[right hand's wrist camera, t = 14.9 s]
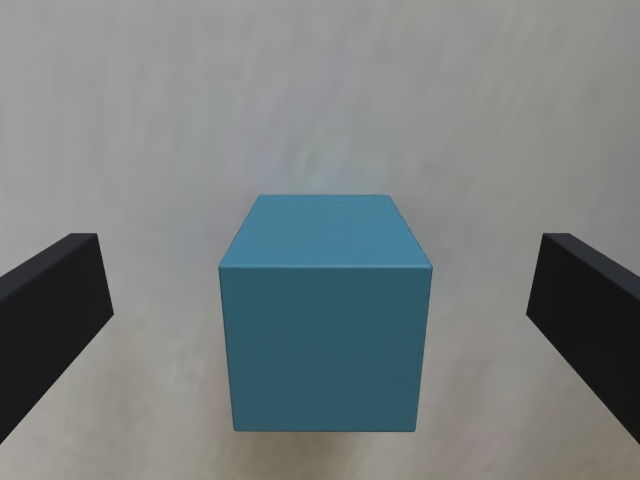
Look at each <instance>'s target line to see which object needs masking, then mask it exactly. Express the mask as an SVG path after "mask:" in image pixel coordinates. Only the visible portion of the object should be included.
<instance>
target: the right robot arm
mask: <svg viewBox="0 0 640 480" xmlns="http://www.w3.org/2000/svg"><path fill="white" fill-rule="evenodd" d="M113 315H114V312H113V307H112V303H111V298H110V293H109V289H108V284H107V279H106V274H105V270H104V265H103V260H102V255H101V251H100V246H99V241H98V236H97V233H71V234H69V235H67V236H66V237H64V238H63V239H61V240H59V241H58V242H56V243H55V244H53V245H51V246H50V247H48V248H46V249H45V250H43V251H42V252H40V253H38V254H37V255H35V256H34V257H32V258H30V259H29V260H27V261H26V262H24V263H22V264H21V265H19V266H18V267H16V268H14V269H13V270H11V271H10V272H8V273H6V274H5V275H3V276H1V277H0V444H1V443H2V442H3V441H4V440H5V439H6V438H7V436H8V435H9V434H10V433H11V432H12V431H13V430H14V428H15V427H16V426H17V425H18V424H19V423H20V421H21V420H22V419H23V418H24V417H25V416H26V415H27V413H28V412H29V411H30V410H31V409H32V408H33V407H34V405H35V404H36V403H37V402H38V401H39V400H40V399H41V397H42V396H43V395H44V394H45V393H46V392H47V391H48V389H49V388H50V387H51V386H52V385H53V384H54V383H55V381H56V380H57V379H58V378H59V377H60V376H61V375H62V373H63V372H64V371H65V370H66V369H67V368H68V366H69V365H70V364H71V363H72V362H73V361H74V360H75V358H76V357H77V356H78V355H79V354H80V353H81V352H82V350H83V349H84V348H85V347H86V346H87V345H88V344H89V342H90V341H91V340H92V339H93V338H94V337H95V336H96V334H97V333H98V332H99V331H100V330H101V329H102V328H103V326H104V325H105V324H106V323H107V322H108V321H109V319H110V318H111V317H112V316H113ZM526 315H527V316H528V317H529V318H530V320H531V321H532V322H533V323H534V324H535V325H536V326H537V328H538V329H539V330H540V331H541V332H542V333H543V334H544V336H545V337H546V338H547V339H548V340H549V341H550V342H551V344H552V345H553V346H554V347H555V348H556V349H557V350H558V352H559V353H560V354H561V355H562V356H563V357H564V358H565V360H566V361H567V362H568V363H569V364H570V365H571V366H572V368H573V369H574V370H575V371H576V372H577V373H578V375H579V376H580V377H581V378H582V379H583V380H584V381H585V383H586V384H587V385H588V386H589V387H590V388H591V389H592V391H593V392H594V393H595V394H596V395H597V396H598V397H599V399H600V400H601V401H602V402H603V403H604V404H605V405H606V407H607V408H608V409H609V410H610V411H611V412H612V413H613V415H614V416H615V417H616V418H617V419H618V420H619V421H620V423H621V424H622V425H623V426H624V427H625V428H626V430H627V431H628V432H629V433H630V434H631V435H632V436H633V438H634V439H635V440H636V441H637V442H638V443H639V444H640V277H638V276H637V275H635V274H634V273H632V272H630V271H629V270H627V269H626V268H624V267H622V266H621V265H619V264H618V263H616V262H614V261H613V260H611V259H610V258H608V257H606V256H605V255H603V254H602V253H600V252H598V251H597V250H595V249H593V248H592V247H590V246H589V245H587V244H585V243H584V242H582V241H581V240H579V239H577V238H576V237H574V236H573V235H571V234H569V233H543V236H542V241H541V246H540V251H539V255H538V260H537V265H536V270H535V274H534V279H533V284H532V288H531V293H530V298H529V303H528V307H527V312H526Z"/></svg>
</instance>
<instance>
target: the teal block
mask: <svg viewBox="0 0 640 480" xmlns="http://www.w3.org/2000/svg"><path fill="white" fill-rule="evenodd" d="M219 278H220V289H221V299H222V310H223V321H224V332H225V342H226V353H227V364H228V374H229V385H230V396H231V406H232V417H233V428H234V430H235V431H287V432H414V431H415V429H416V421H417V411H418V402H419V392H420V383H421V373H422V364H423V354H424V344H425V335H426V325H427V316H428V306H429V297H430V287H431V278H432V265H431V263H430V262H429V260H428V259H427V257H426V255H425V254H424V252H423V250H422V249H421V247H420V245H419V244H418V242H417V241H416V239H415V237H414V236H413V234H412V232H411V231H410V229H409V227H408V226H407V224H406V223H405V221H404V219H403V218H402V216H401V214H400V213H399V211H398V209H397V208H396V206H395V205H394V203H393V201H392V200H391V198H390V196H388V195H260V196H259V197H258V199H257V200H256V202H255V204H254V206H253V207H252V209H251V211H250V212H249V214H248V216H247V218H246V219H245V221H244V223H243V225H242V226H241V228H240V230H239V232H238V233H237V235H236V237H235V239H234V240H233V242H232V244H231V246H230V247H229V249H228V251H227V252H226V254H225V256H224V258H223V259H222V261H221V263H220V265H219Z"/></svg>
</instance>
